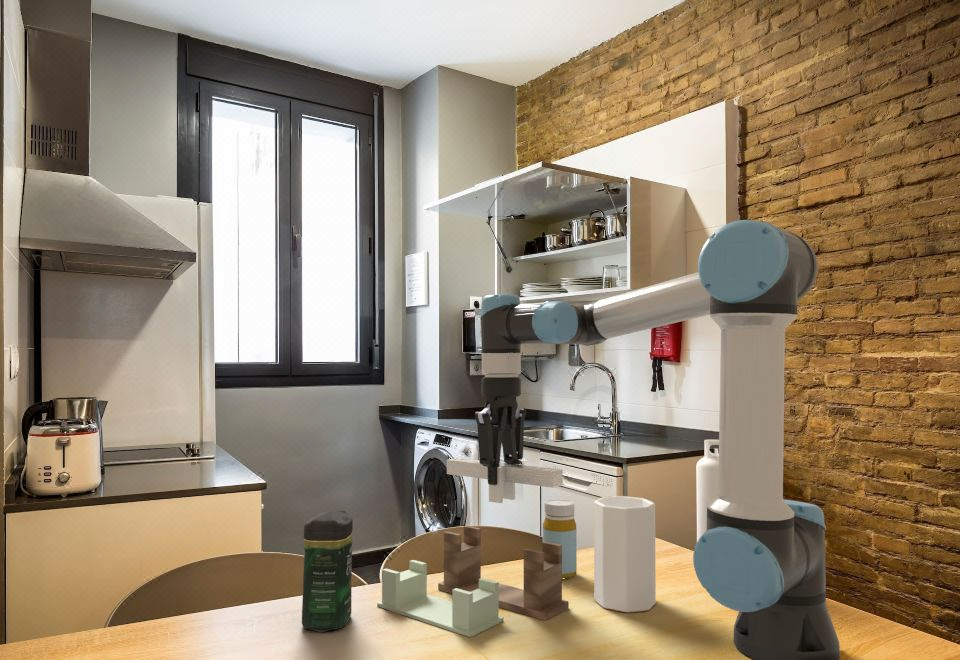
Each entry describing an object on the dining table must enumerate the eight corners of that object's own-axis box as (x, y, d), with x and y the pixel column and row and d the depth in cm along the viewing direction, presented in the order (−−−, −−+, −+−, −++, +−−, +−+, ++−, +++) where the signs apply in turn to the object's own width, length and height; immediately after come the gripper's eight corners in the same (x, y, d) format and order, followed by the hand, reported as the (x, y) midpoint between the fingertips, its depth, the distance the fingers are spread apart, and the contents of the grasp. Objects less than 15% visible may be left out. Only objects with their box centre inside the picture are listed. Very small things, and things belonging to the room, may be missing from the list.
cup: (627, 618, 120) (626, 511, 121) (581, 599, 129) (581, 500, 130) (668, 604, 126) (667, 503, 127) (622, 588, 135) (622, 493, 136)
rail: (562, 485, 124) (562, 469, 124) (552, 487, 121) (552, 471, 121) (457, 471, 139) (457, 458, 139) (446, 474, 137) (446, 459, 137)
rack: (568, 608, 125) (568, 545, 125) (545, 620, 119) (545, 554, 119) (463, 579, 140) (463, 524, 141) (438, 589, 134) (438, 531, 135)
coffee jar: (344, 634, 113) (345, 519, 114) (296, 633, 113) (298, 519, 114) (356, 612, 123) (357, 506, 123) (312, 611, 123) (313, 506, 123)
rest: (503, 620, 118) (503, 582, 119) (470, 637, 111) (470, 596, 112) (412, 593, 132) (412, 558, 133) (377, 606, 125) (377, 569, 126)
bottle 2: (697, 580, 140) (696, 442, 141) (697, 568, 148) (695, 438, 149) (739, 584, 138) (738, 443, 139) (737, 572, 146) (735, 439, 147)
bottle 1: (536, 572, 145) (536, 500, 146) (565, 568, 148) (564, 497, 149) (553, 582, 139) (553, 507, 140) (583, 577, 142) (582, 504, 143)
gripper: (510, 375, 140) (511, 491, 139) (458, 376, 127) (459, 505, 126) (541, 375, 135) (542, 495, 134) (490, 377, 122) (491, 510, 121)
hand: (502, 500), depth 130 cm, fingers closed on rail, 3 cm apart
